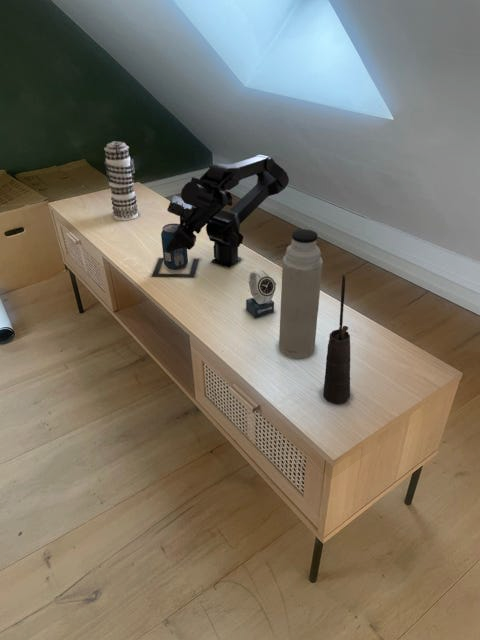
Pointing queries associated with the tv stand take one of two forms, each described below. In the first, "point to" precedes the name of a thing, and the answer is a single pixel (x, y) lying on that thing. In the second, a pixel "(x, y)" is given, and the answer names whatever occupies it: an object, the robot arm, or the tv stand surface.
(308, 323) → the thermos bottle
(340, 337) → the butter churn
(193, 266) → the tape square
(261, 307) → the watch
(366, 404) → the tv stand surface
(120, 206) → the white and grey cylinder
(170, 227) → the soda can
